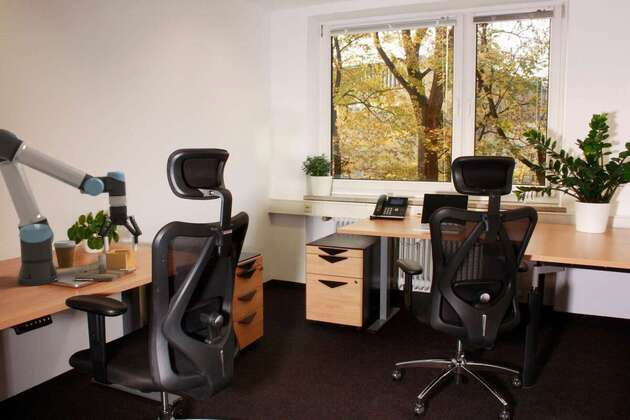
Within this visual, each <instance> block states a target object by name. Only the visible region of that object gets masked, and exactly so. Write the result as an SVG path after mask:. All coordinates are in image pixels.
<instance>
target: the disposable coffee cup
mask: <svg viewBox="0 0 630 420" xmlns="http://www.w3.org/2000/svg"><path fill="white" fill-rule="evenodd" d="M76 245H77V244H76V241H75V240H73V239H72V240H66V239H65V240H58V241H54V243H53V248H54V250H55V251H54V252H55V255H56V261H57V262H56V263H57V267H58V268H59V269H71V268H73V267H74V261H75V247H76Z"/></svg>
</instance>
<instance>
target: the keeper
mask: <svg viewBox="0 0 630 420" xmlns="http://www.w3.org/2000/svg"><path fill="white" fill-rule="evenodd" d="M97 257H98V258H97V261H98V264H97V265H98V268H94V269H91V270H89V271H87V272H84V273H82V274H78V275H77V276H75V279H93V280H95V281H94V282H113V281H114V282H115V280H117V279H119V278H121V277H124V276H126V275H127V274H129V270H130V269H129V270H120V269H106V255H105V254H104V253H102V254H101V253H100V254H98V255H97ZM75 279H74V280H75Z"/></svg>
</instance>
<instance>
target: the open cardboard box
mask: <svg viewBox="0 0 630 420" xmlns="http://www.w3.org/2000/svg"><path fill="white" fill-rule="evenodd" d="M103 254H105V255H106V269H128V268H129V267H133V268H135V267H136V251H133V249H115V248H114V249H112V250H109V251H106V252H104V253H103Z"/></svg>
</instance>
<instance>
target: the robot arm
mask: <svg viewBox="0 0 630 420" xmlns="http://www.w3.org/2000/svg"><path fill="white" fill-rule="evenodd" d="M24 166H26V167H28V168H31V169H32V170H35V171H37V172H39V173H41V174H43V175H46V176H48V177H50V178H53V179H55V180H57V181H59V182H61V183H63V184H65V185H68V186H70V187H72V188H74V189H77V190H79V193H80V194H82V195H88V196H91V197H97V196H99V195H101V194H106V193H107V194H108V205H109V207H108V209H109V215H104V216H103V217H102V222H101V224H100V227H99V229H98V233H97V236H98V237H100V238H101V243H102V245H103V246H104V247H103V251H104V253H106V252H109V251H110V248H109V245H110V244H109V236H108V234H109V233H110V232H111V230H112V229H113V228H114V227H115V226H116V227H117V226H123V227H125V228H126V229H127V231H128V232H129V233H130V234H131V235H132V236H133V237H131V240H132V241H131V243H132V250H133V251H135V252H137V251H138V246H137V244H139V237H140V236H141V235H143V233H142V231H141V229H140V226H139V225H138V223H137V221H136V219H135V215H134V214H132V215H128V210H127V209H128V208H127V207H128V206H127V191H126V190H127V189H126V176H125V172H123V171H108V172H106V173H107V174H106V175H105V176H93V175H91V174H88V173H87V172H84V171H82V170H80V169H79V168H75V167H74V166H71V165H70V164H67V163H65V162H62V161H61V160H59V159H58V158H57V159H56V158H54V157H53V156H50V155H48V154H46V153H44V152H42V151H40V150H37V149H34V148H33V147H31V146H29V145H27V144H26V141H24V140H22V139H20V138H18V137H17V135H16V134H15V133H13V132H12V131H10V130H8V129H4V128H0V173H1V175H2V178H3V181H4V182H5V186H6V188H7V191H8V194H9V196H10V198H11V201H12V204H13V206H14V210H15V212H16V214H17V217H18V219H19V223H18V225H17V228H18V230H19V233H18V237H19V243H20V260H21V261H20V262H21V263H20V264H21V265H20V269H19V273H18V275H17V285H21V286H40V285H48V284H53V283H55V282H56V281H54V280H55V279H57V278H58V279H59V273H58V271H57V268H56V265H55V263H54V259H53V242H54V239H55V233H54V231H53V229H52V227H51V226H50V224H49V221H48V219H47V216H45V215H42V213H41V211H40V208H39V206H38V203H37V200H36V198H35V195H34V193H33V189H32V186H31V185H30V181H29V179H28V177H27V173H26V171H25V168H24ZM109 221H111V222H110V223H109V224H108V222H109ZM128 221H129V222H130V223H129V222H128ZM107 224H108V226H107Z"/></svg>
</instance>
